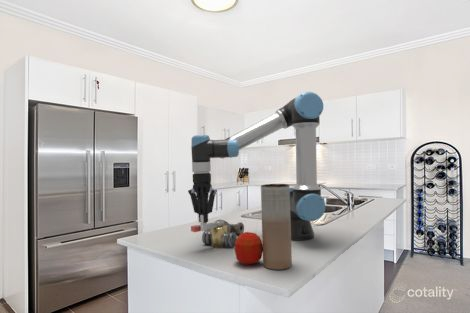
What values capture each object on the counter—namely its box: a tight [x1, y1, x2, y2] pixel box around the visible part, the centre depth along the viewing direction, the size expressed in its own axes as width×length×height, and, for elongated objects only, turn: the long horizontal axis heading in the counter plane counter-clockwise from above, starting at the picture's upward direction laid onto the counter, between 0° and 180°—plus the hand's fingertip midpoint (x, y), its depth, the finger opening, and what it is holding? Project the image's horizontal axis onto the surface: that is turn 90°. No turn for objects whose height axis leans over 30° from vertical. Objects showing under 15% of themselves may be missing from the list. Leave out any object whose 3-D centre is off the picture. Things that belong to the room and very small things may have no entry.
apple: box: [234, 231, 263, 266], centre depth 105 cm, size 10×10×12 cm
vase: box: [260, 183, 293, 271], centre depth 102 cm, size 10×10×28 cm
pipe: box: [207, 219, 245, 236], centre depth 145 cm, size 16×9×15 cm
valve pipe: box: [201, 226, 238, 249], centre depth 128 cm, size 14×7×8 cm, turn 62°
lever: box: [190, 220, 224, 233], centre depth 124 cm, size 15×4×2 cm, turn 130°
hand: (203, 230), depth 120 cm, fingers closed
